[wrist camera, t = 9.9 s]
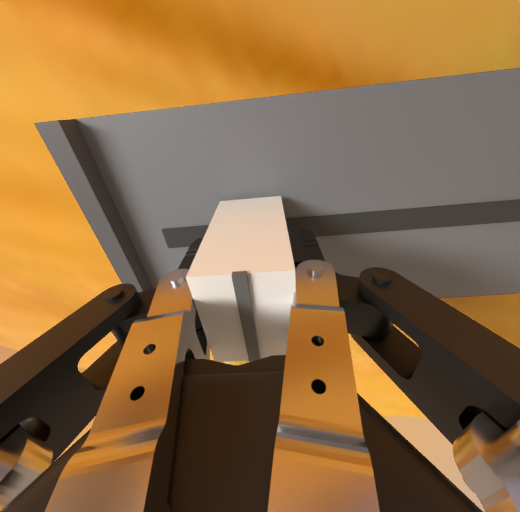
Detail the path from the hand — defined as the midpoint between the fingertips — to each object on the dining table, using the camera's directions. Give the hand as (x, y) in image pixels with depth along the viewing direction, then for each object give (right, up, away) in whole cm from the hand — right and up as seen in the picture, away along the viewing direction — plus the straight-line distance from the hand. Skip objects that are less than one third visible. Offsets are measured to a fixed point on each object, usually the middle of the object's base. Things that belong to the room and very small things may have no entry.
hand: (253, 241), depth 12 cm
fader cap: (0, 0, +1) cm, 1 cm away
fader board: (+8, +2, +2) cm, 9 cm away
